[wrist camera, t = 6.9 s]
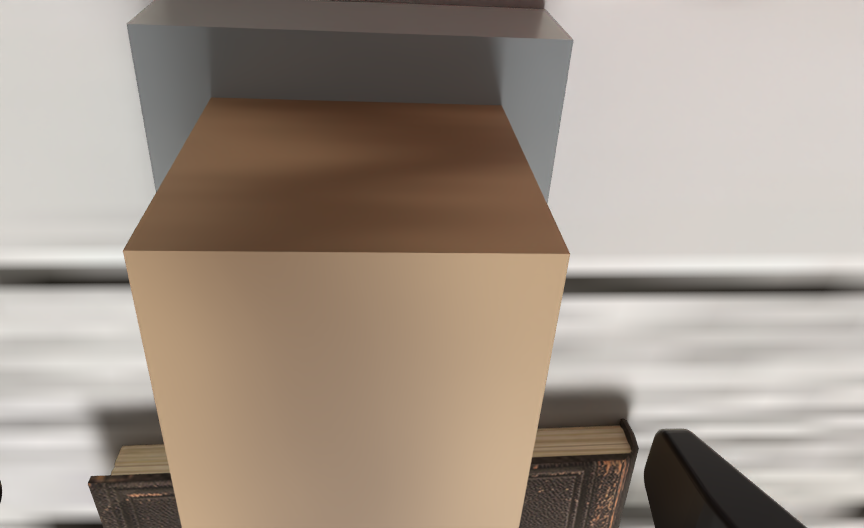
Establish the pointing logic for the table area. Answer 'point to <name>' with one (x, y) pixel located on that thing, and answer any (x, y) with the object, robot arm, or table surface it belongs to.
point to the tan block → (348, 315)
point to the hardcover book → (543, 503)
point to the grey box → (348, 63)
